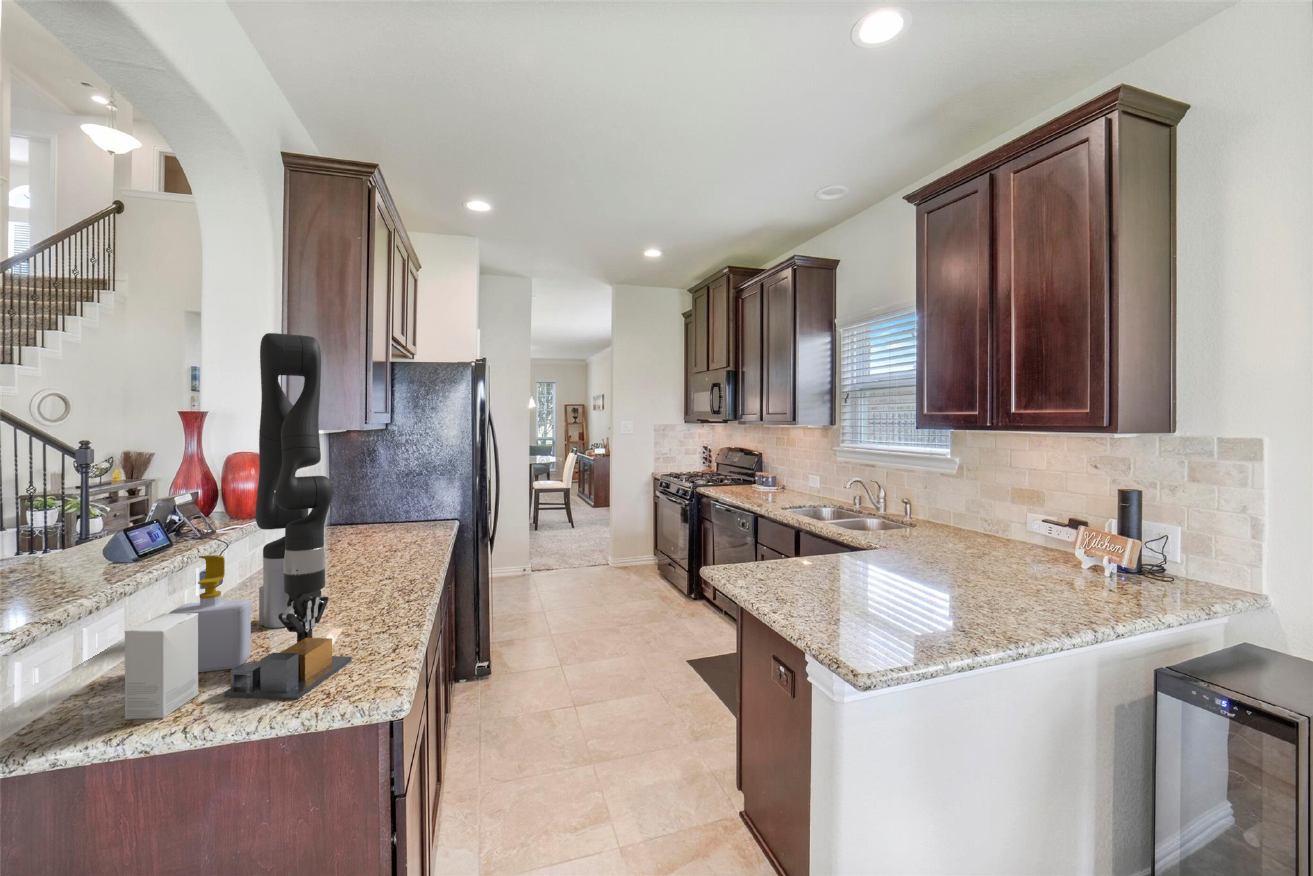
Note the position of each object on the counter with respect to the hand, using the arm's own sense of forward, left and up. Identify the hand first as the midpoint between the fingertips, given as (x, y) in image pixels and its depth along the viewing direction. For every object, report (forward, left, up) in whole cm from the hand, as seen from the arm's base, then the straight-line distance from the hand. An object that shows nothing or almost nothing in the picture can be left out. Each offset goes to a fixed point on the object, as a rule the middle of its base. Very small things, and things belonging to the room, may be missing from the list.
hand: (304, 647), depth 115 cm
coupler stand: (+4, -9, -2) cm, 11 cm away
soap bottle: (-16, -5, -2) cm, 17 cm away
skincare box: (-10, -21, -2) cm, 24 cm away
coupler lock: (+6, -8, -1) cm, 11 cm away
